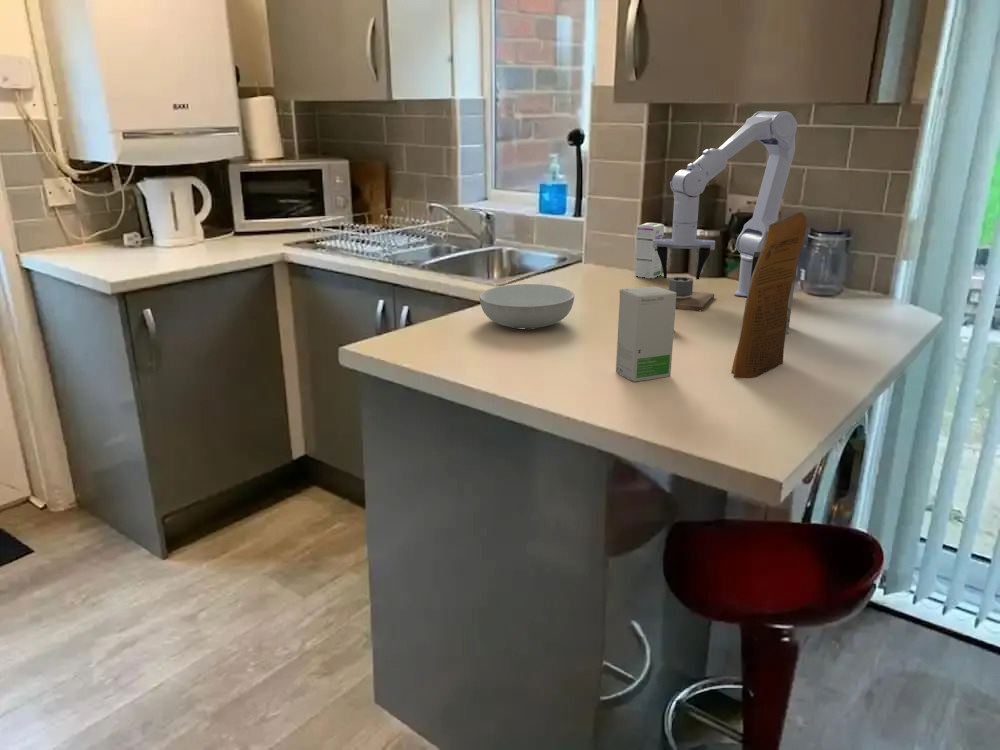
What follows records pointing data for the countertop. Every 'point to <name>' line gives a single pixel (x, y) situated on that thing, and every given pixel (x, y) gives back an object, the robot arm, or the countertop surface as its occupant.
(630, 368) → the skincare box
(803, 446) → the countertop surface
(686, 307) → the board
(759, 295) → the pancake mix bag
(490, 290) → the serving bowl
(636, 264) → the syrup box
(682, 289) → the ring
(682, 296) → the piston post
